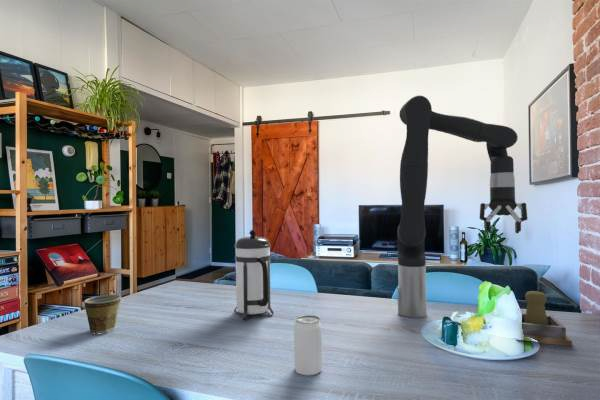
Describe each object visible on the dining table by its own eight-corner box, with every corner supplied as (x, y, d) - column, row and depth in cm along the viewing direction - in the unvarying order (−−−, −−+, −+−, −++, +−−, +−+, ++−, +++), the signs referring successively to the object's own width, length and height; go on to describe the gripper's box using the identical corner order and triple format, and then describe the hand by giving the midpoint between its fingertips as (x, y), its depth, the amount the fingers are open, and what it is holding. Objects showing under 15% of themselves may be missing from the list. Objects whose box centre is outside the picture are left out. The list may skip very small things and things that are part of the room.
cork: (553, 333, 100) (552, 294, 100) (529, 332, 101) (528, 294, 101) (542, 326, 106) (542, 289, 106) (520, 325, 107) (519, 288, 107)
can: (293, 364, 86) (293, 315, 86) (320, 363, 87) (319, 314, 87) (295, 377, 80) (295, 324, 80) (324, 375, 80) (323, 322, 80)
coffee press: (221, 319, 121) (221, 231, 121) (246, 306, 135) (245, 228, 136) (267, 325, 114) (266, 232, 114) (287, 310, 129) (286, 228, 129)
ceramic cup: (127, 327, 113) (127, 296, 113) (98, 338, 104) (98, 304, 104) (100, 322, 119) (100, 292, 119) (70, 332, 110) (70, 300, 110)
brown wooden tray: (516, 340, 99) (515, 324, 99) (506, 325, 111) (506, 310, 111) (571, 346, 95) (571, 329, 95) (555, 329, 107) (555, 314, 107)
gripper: (480, 186, 122) (481, 233, 122) (528, 185, 117) (529, 234, 117) (478, 187, 129) (478, 231, 129) (523, 186, 124) (524, 232, 124)
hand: (503, 232), depth 123 cm, fingers open, 8 cm apart
